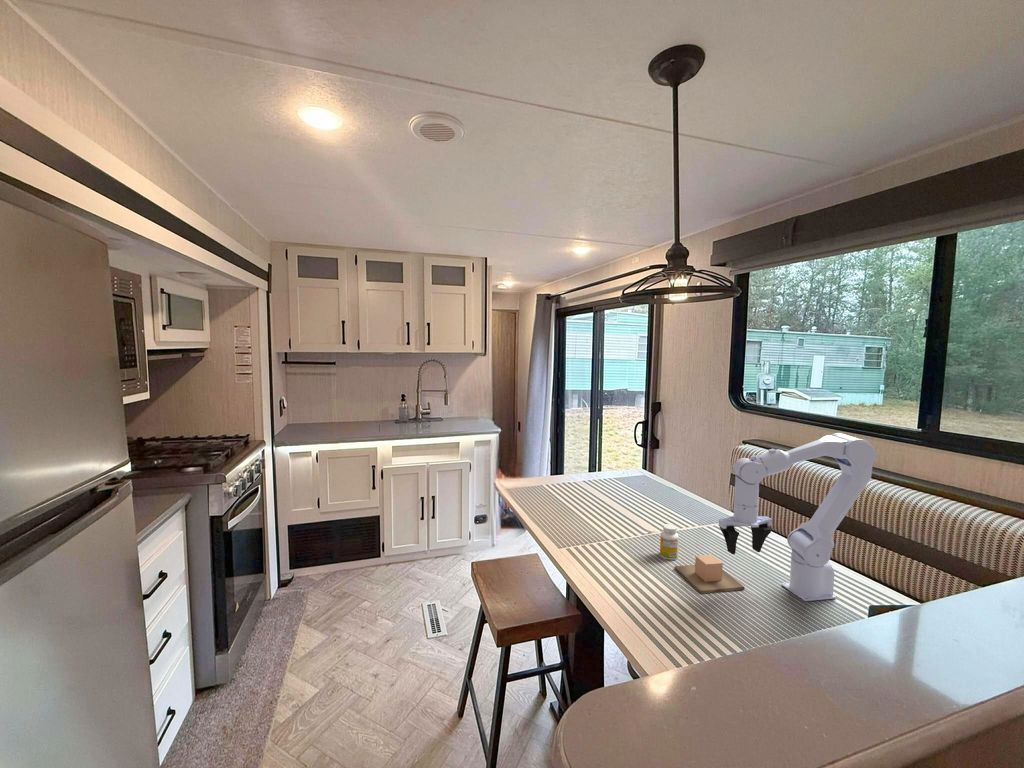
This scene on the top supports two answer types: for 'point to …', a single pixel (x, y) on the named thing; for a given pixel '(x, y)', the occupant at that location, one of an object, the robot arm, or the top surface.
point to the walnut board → (711, 586)
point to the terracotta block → (708, 568)
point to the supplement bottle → (669, 542)
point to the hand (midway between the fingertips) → (743, 551)
